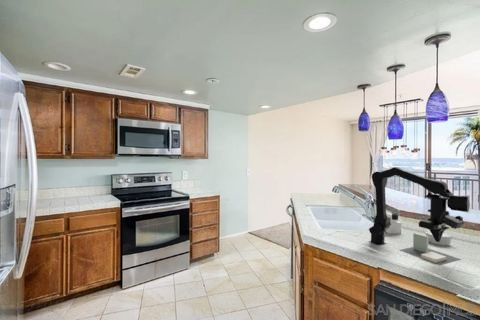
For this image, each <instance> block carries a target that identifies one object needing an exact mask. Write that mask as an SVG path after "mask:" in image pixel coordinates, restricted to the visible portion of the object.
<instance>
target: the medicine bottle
mask: <svg viewBox="0 0 480 320" xmlns="http://www.w3.org/2000/svg"><path fill="white" fill-rule="evenodd" d="M386 215H387V217H390V218H391V220H390V223H391V225H390V227H389V228H388V229H387V230H386V231H385V232H386V233H388V234H389V235H401V234H402V222H400V221H399V214H397V213H396V212H386Z"/></svg>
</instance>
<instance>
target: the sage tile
mask: <svg viewBox="0 0 480 320" xmlns="http://www.w3.org/2000/svg"><path fill="white" fill-rule="evenodd" d="M412 235H413V241H412V243H413V245H412V247H413V249H416V250H419V251H422V252H425V253H428V249H429V241H428V236H426V234H422V233H418V232H413V234H412Z"/></svg>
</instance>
